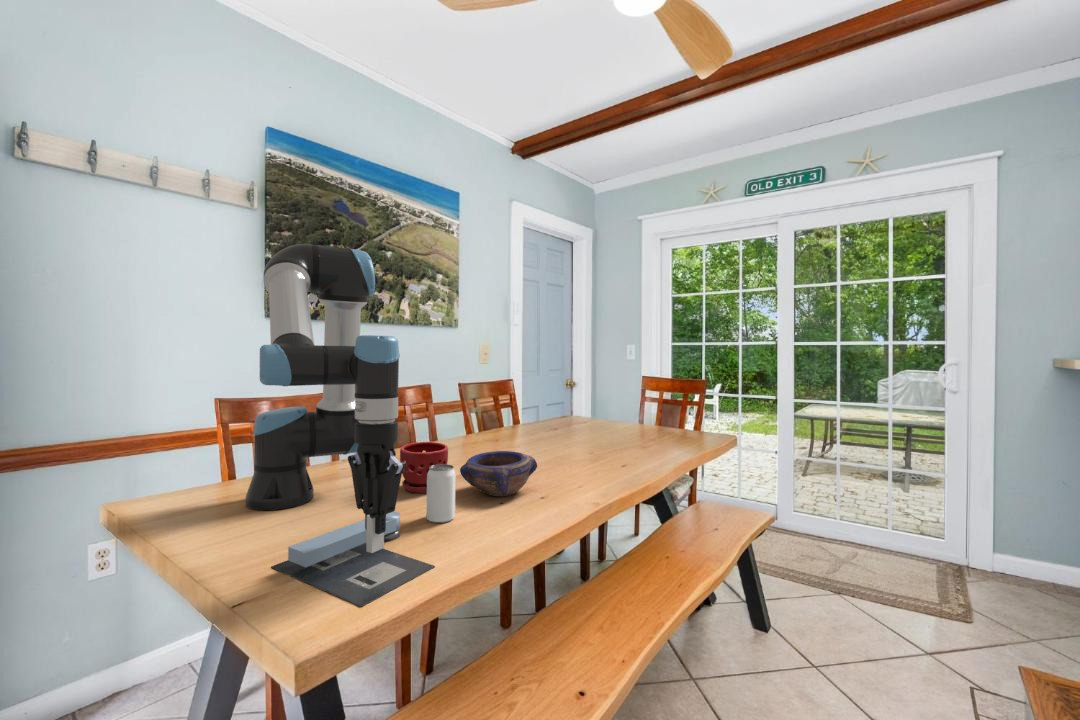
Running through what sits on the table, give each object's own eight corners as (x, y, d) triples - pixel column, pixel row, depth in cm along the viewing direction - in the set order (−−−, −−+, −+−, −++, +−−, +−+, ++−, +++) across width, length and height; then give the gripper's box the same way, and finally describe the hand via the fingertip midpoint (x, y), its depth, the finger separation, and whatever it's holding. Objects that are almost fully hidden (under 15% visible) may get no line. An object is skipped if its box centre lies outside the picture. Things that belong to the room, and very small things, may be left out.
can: (448, 524, 107) (449, 471, 107) (421, 522, 109) (422, 469, 108) (459, 515, 114) (459, 464, 113) (433, 512, 115) (434, 463, 115)
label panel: (271, 567, 85) (271, 566, 85) (348, 537, 99) (348, 536, 99) (361, 607, 73) (361, 605, 73) (434, 567, 87) (434, 565, 87)
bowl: (451, 493, 130) (451, 457, 130) (494, 479, 145) (494, 446, 145) (502, 507, 120) (503, 467, 120) (543, 490, 135) (543, 455, 134)
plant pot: (389, 489, 133) (390, 446, 133) (428, 479, 144) (428, 439, 143) (418, 499, 125) (419, 453, 125) (457, 488, 135) (457, 446, 135)
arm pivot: (369, 537, 99) (369, 531, 99) (388, 530, 104) (388, 524, 104) (386, 543, 97) (386, 537, 97) (404, 535, 101) (404, 529, 101)
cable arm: (288, 561, 84) (288, 545, 84) (388, 522, 104) (388, 509, 104) (305, 568, 82) (305, 552, 82) (405, 527, 101) (405, 514, 101)
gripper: (335, 419, 87) (334, 548, 87) (385, 426, 80) (383, 566, 81) (369, 415, 93) (367, 535, 94) (417, 421, 87) (416, 550, 87)
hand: (375, 549), depth 87 cm, fingers closed
